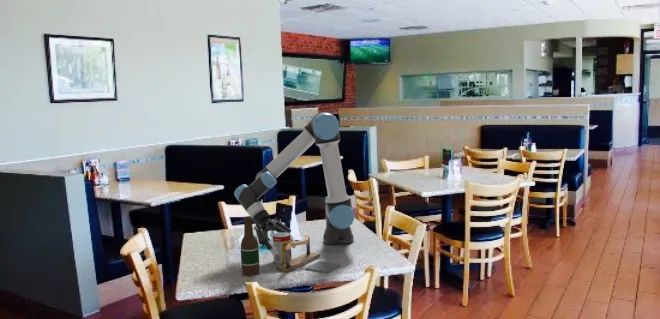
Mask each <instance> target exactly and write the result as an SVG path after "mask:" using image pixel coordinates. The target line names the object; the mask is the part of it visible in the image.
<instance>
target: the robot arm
mask: <svg viewBox="0 0 660 319" xmlns="http://www.w3.org/2000/svg"><path fill="white" fill-rule="evenodd" d="M340 141H341V135H340V123H339V120H338V118H337V117H336V116H335V115H334V114H332V113H330V112H326V111H321V112H318V113H316V114H315V115H314V116H312V118H311V120H310V121H309V122H308V123H307V124H306V125H305V126H304V127H303V131H302V132H300V134H299V135H298V136H296V137H295V138H294V139H293V140H292V141H291V142H290V143H289V144H288V145H287V146H286V147H285V148H284V149H283V150H281V151H280V153H278V154H277V156H275V158H273V159H272V160H271V161H270V162H269V163H268V164H267V165H266V166H265V167H264V168H263V169H262V170H261V171H259V172H258V173H257V174H256V176H255V180H254V181H252V183H250V184H248V185H247V184H241V185H240V186H238V187H237V188H235V190H234V193H233V195H234V197H235V198H236V200H237V202H238V203H239V204H240V206H242V208H243V209H244V211H245V213H247V215H248V216H250V217H252V222H253V223H254V224H255V225H254V227H253V230H254V231H255V232H256V236H257V241H258V245H261V246H262V247H264V246H265V247H266V249H267V250H268V251H269V252H270V253H271V255H272V256H273V257H274V256H276V255H277V254H278V251H277V250H276V248H275V247H274V246H273V242H271V240H269V235H268V234H269V232H270V231H273V232H275V233H279V232H288V233H290V238H291V242H296V241H295V239H294V237H293V236H292V235H291V233H292V229H291V228H289V227H288V226H286V225H285V224H284V223H282V222H281V221H279V220H278V218H277V217H274V218H273V219H271V216H270V215H271V214H270V213H269V212H268V211H267V209H266V208H265V207H264V205H263V204H262V202H261V201H260V200H259V199H260V198H261V197H262V196H263V195H264V194H266V193H267V192H268V191H269V190H271V189H273V188H274V186H275V185H277V182H278V181H277V178H279V176H281V174H282V173H284V172H285V171H286V170H287V169H288V168H289V167H290V166H291V165H292V164H293V163H294V162H295V161H296V160H297V159H299V157H301V156H302V155H303V154H304V153H305V152H306V151H307V150H308V149H309V148H310V147H311V146H312V145H313V144H314V143H315V145H316V146H317V147H319V152H320V157H321V163H322V168H323V173H324V174H323V175H324V180H325V187H326V192H327V196H325V197H324V198H325V199H324V204H325V230H324V231H323V232H324V233H323V237H322V240H323V242H322V243H324V244H326V245H332V246H343V245H349V244H352V243H353V242H354V240H355V238H354V235H353V234H354V233H353V231H352V228H351V226H352V224H353V222H354V221H355V211H354V209H353V205H352V199H351V196H350V195H348V194H347V191H346V190H347V189H346V184H345V178H344V173H343V168H342V167H343V166H342V160H341V154H340V149H339V142H340ZM296 247H297V246H291V248H292V249H295V248H296Z"/></svg>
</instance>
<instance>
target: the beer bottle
mask: <svg viewBox="0 0 660 319" xmlns="http://www.w3.org/2000/svg"><path fill="white" fill-rule="evenodd" d="M252 219H253V218H252V217H250V216H249V215H248V216H244V217H243V222H244V223H243V224H244V225H243V227H244V229H243V237H242V239H241V241H240V263H241V273H242V275H243V276H246V277H251V276H252V275H254V276H256V274H257V275H259V274H260V270H261V269H260V267H261V265H260V251H259V250H260V248H259V241H258V238H256V236H255V234H254V227H253V220H252ZM258 273H259V274H258ZM252 277H253V276H252Z"/></svg>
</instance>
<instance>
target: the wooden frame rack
mask: <svg viewBox="0 0 660 319" xmlns="http://www.w3.org/2000/svg"><path fill="white" fill-rule="evenodd" d="M310 241H311V240H310V235H306V236H305V237H304V240H298V241H295V242H291V243H288V244H287V246H286V248H285V252H286V262H285V263H280V265H276V266H275V270H276V271H278V270H279V272H284V273H289V272H291V271H294V270H295V269H297V268H299V267H302V266H304V265H306V264H308V263H310V262H312V261H314V260H316V259H319V258H320V257H321V254H320V253H317V252H311V244H310V243H311V242H310ZM303 245H306V246H305V248H306V249H305V250H306V253H304V254H301V255H300V256H297V257H295V258H291V259H292V260H290V255H289V250H290V248H291V249H292V246H296V247H297V246H303Z"/></svg>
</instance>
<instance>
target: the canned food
mask: <svg viewBox="0 0 660 319" xmlns="http://www.w3.org/2000/svg"><path fill="white" fill-rule="evenodd" d="M290 235H291V232H290V233H288V232H279V233H278V232H275V233H273V234H272V244H273V246H274V247H275V248H276V250H277V251H278V254H277V255H276V256H273V262H274V263H276V264H283V263H285V262H286V252H285V248H286V246H287V244H288V243H291V238H290ZM289 255H290V260H292V259H293V258H292V247H291V248H290V250H289Z"/></svg>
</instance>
